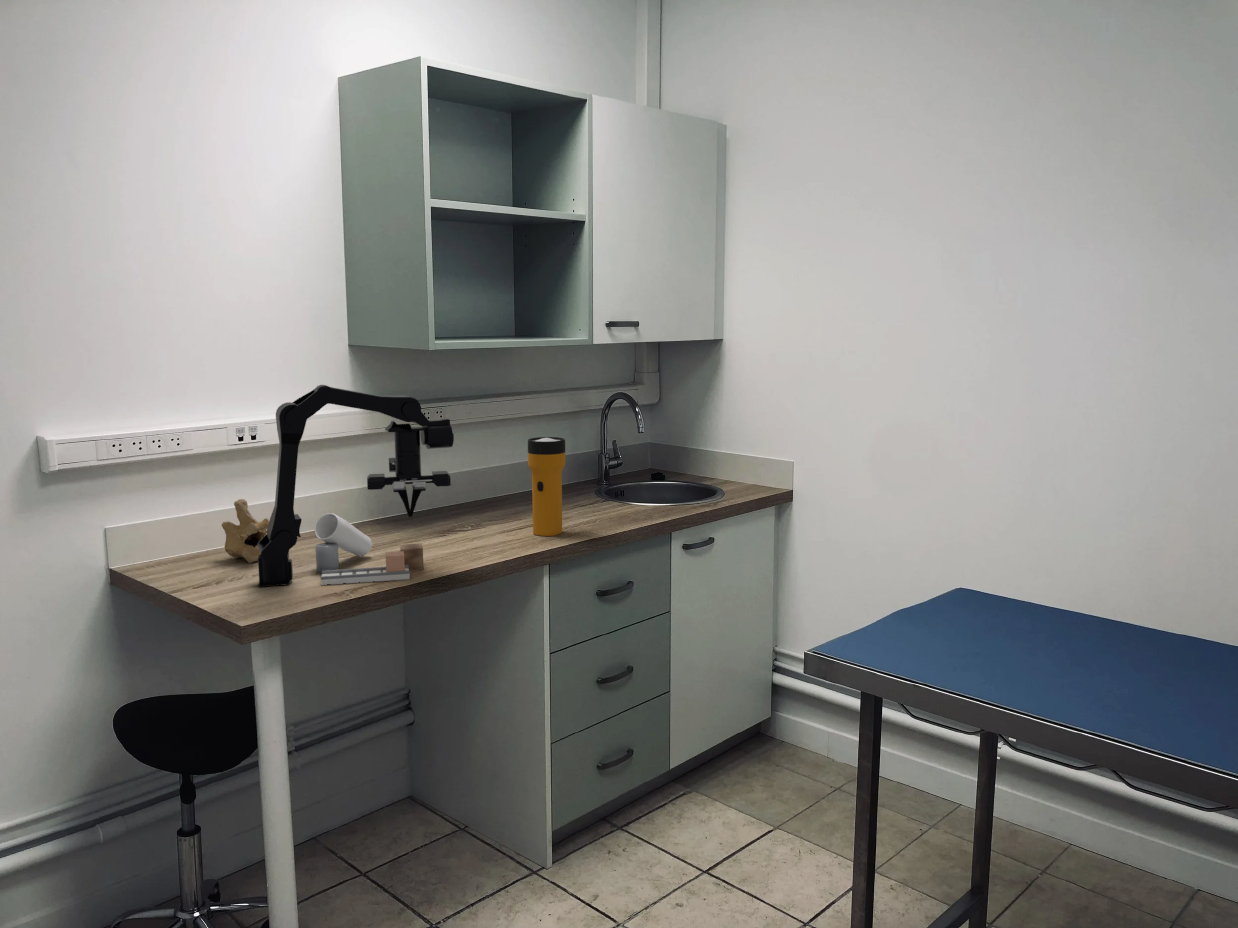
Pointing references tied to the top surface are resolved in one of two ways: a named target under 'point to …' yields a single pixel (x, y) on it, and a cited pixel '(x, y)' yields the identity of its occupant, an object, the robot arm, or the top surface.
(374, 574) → the counter rail
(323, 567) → the grey upright block
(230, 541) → the vertebra
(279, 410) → the robot arm
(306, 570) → the top surface
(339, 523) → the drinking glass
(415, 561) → the walnut block
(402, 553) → the counter slider
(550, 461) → the flashlight
